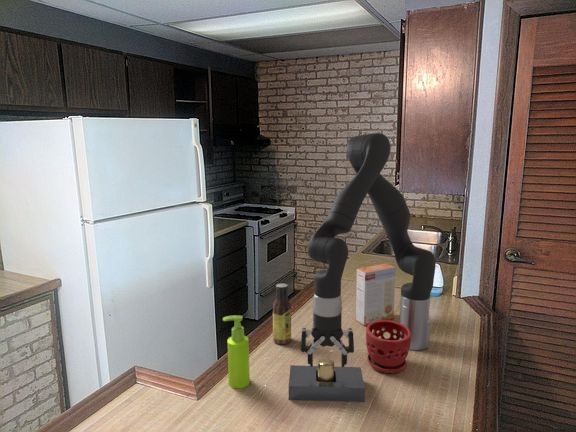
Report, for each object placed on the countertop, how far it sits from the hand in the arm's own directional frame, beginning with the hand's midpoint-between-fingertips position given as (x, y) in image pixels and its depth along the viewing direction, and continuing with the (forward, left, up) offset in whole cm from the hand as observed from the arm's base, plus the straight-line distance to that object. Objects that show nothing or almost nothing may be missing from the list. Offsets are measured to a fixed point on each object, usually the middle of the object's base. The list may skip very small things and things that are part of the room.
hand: (327, 365), depth 113 cm
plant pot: (-19, -13, -8) cm, 24 cm away
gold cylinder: (0, 0, -7) cm, 7 cm away
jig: (0, 0, -7) cm, 7 cm away
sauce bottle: (+14, -27, -8) cm, 31 cm away
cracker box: (-20, -45, -8) cm, 50 cm away
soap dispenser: (+25, -2, -8) cm, 26 cm away
